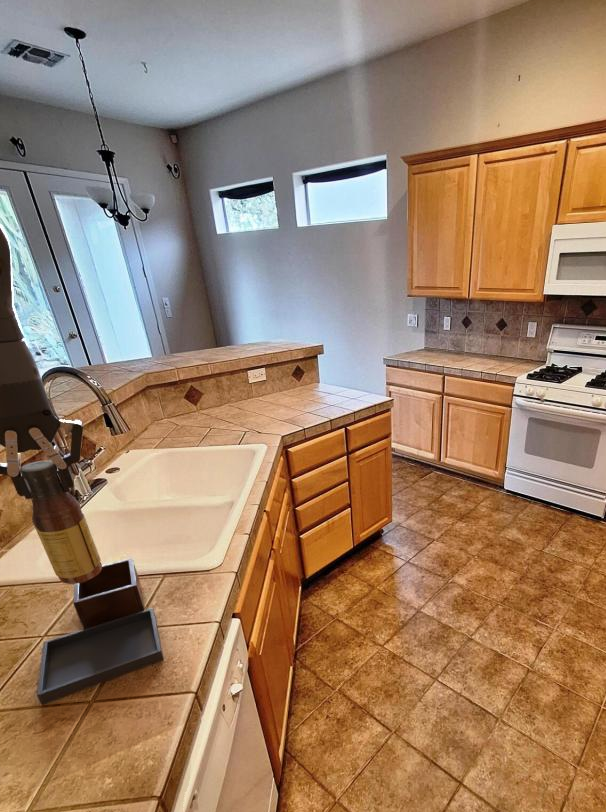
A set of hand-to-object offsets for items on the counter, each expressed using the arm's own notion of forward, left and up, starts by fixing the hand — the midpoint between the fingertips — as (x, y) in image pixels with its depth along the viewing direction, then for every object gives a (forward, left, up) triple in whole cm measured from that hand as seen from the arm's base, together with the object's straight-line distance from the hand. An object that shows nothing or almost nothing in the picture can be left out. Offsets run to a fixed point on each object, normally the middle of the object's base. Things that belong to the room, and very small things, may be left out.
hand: (48, 493), depth 64 cm
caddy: (+2, +11, -31) cm, 33 cm away
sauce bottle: (0, 0, -15) cm, 15 cm away
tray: (0, -3, -31) cm, 31 cm away
